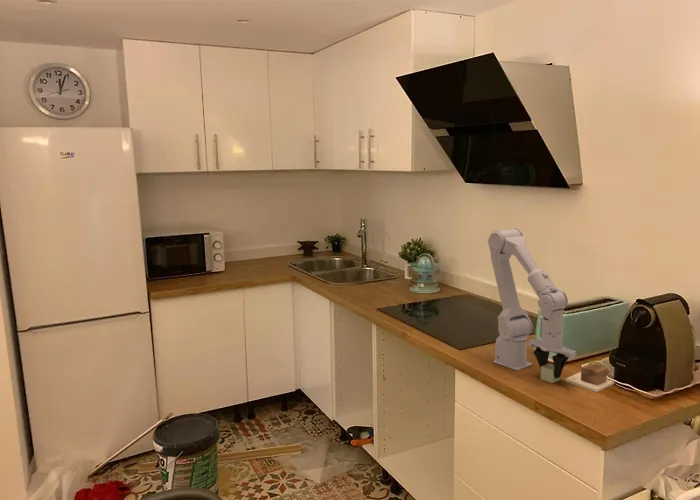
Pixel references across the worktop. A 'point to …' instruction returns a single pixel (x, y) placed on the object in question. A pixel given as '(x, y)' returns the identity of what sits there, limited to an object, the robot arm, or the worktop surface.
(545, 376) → the sage brick
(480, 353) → the worktop surface
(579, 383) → the plate
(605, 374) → the walnut brick
